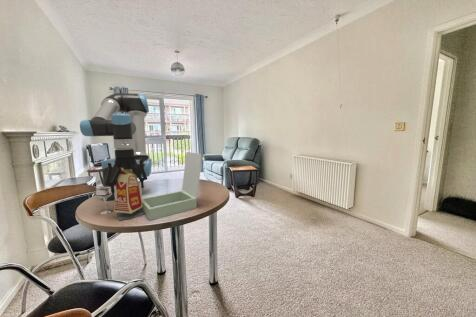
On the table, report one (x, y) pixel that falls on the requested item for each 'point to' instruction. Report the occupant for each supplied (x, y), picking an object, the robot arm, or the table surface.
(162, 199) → the green shallow open box
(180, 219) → the table surface
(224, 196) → the table surface
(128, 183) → the milk carton
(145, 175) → the robot arm
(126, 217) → the mat
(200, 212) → the table surface
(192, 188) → the lid
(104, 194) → the wineglass
